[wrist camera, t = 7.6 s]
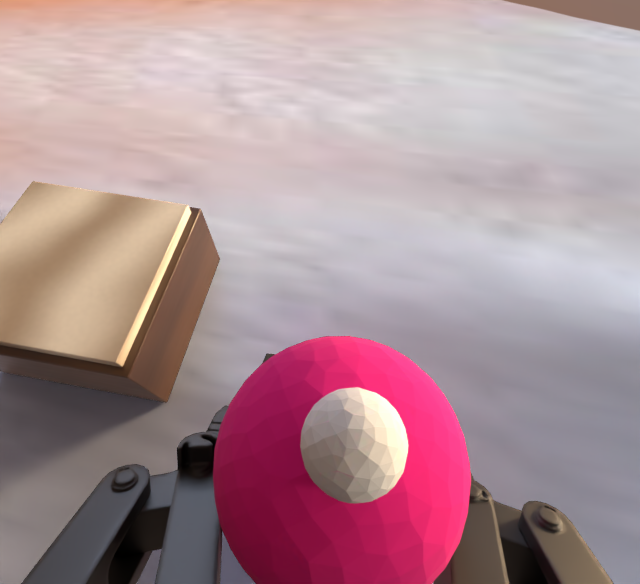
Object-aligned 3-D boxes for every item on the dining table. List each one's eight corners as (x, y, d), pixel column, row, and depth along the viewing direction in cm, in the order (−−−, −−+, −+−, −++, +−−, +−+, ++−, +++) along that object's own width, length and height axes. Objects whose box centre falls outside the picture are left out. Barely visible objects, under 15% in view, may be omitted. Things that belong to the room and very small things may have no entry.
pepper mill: (352, 403, 25) (451, 197, 8) (398, 518, 22) (755, 627, 4) (250, 441, 24) (82, 300, 6) (283, 570, 21) (132, 1029, 3)
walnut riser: (220, 258, 31) (198, 200, 24) (167, 403, 25) (121, 373, 19) (84, 236, 31) (29, 174, 25) (2, 372, 25) (-95, 334, 19)
